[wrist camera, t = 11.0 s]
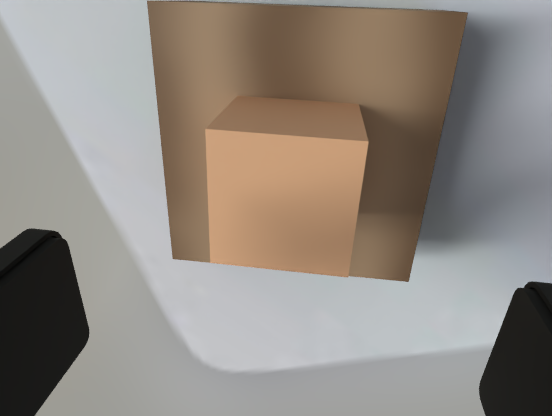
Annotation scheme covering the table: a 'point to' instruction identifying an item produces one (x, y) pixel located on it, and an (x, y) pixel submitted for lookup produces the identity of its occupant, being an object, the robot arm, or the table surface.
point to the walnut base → (313, 87)
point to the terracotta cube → (285, 184)
